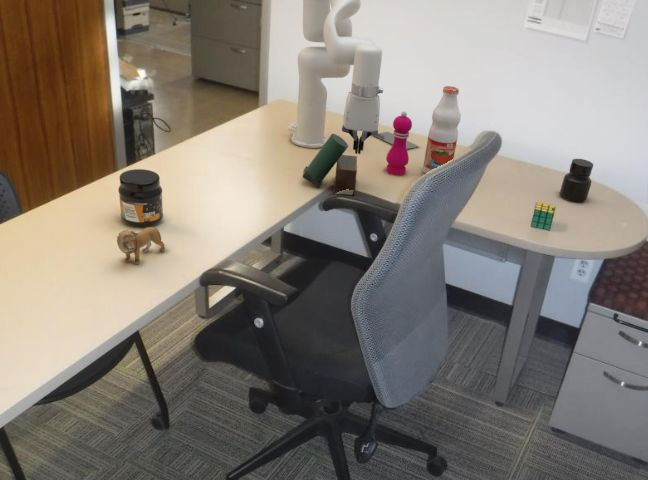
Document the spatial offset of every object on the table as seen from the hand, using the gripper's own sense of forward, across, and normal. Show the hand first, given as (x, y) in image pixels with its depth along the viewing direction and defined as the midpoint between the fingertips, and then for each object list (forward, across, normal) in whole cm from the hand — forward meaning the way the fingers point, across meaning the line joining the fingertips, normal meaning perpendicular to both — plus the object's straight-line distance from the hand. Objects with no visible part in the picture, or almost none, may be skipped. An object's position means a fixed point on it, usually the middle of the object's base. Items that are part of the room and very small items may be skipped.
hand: (357, 152), depth 213 cm
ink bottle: (+12, -72, -11) cm, 74 cm away
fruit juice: (+12, -28, -20) cm, 36 cm away
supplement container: (+12, +55, +35) cm, 66 cm away
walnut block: (+12, +3, 0) cm, 12 cm away
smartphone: (+12, -15, -46) cm, 50 cm away
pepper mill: (+12, -14, -17) cm, 25 cm away
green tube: (+11, +9, 0) cm, 15 cm away
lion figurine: (+12, +50, +55) cm, 75 cm away
